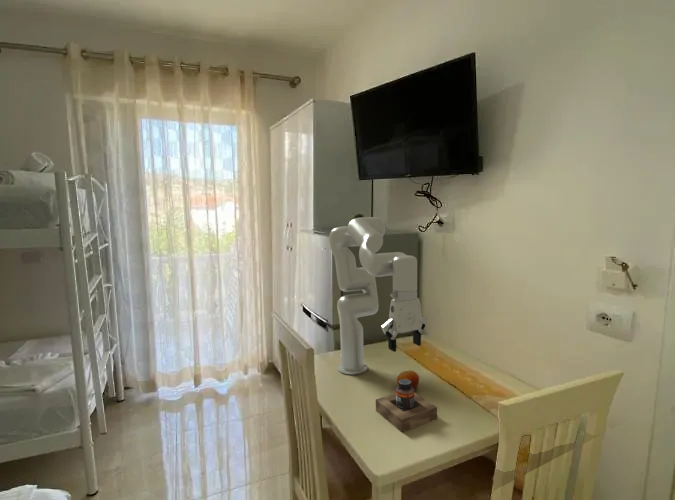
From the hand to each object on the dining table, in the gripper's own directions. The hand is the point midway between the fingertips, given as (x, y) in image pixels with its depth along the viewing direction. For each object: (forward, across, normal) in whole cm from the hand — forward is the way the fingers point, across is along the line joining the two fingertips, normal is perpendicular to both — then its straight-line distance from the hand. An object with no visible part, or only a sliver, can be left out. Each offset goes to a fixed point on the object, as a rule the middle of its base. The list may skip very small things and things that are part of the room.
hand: (404, 347), depth 121 cm
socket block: (+23, 0, 0) cm, 23 cm away
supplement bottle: (+23, 0, 0) cm, 23 cm away
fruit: (+23, +12, +14) cm, 29 cm away
